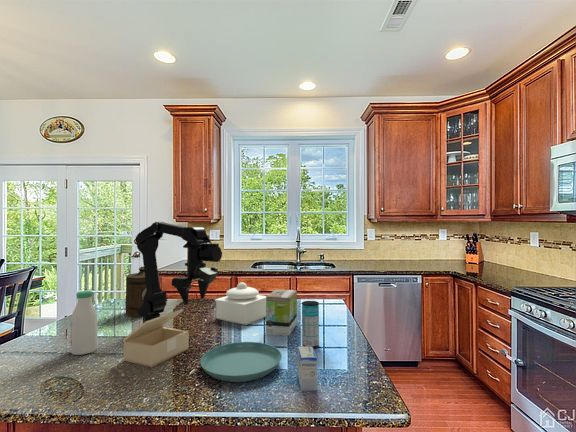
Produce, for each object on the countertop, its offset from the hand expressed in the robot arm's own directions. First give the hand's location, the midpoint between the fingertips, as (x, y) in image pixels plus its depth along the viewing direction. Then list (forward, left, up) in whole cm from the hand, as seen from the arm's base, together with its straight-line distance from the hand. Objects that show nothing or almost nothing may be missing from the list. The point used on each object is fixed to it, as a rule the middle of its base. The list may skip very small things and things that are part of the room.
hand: (194, 301), depth 127 cm
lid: (-1, -18, -4) cm, 18 cm away
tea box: (+26, +22, -14) cm, 37 cm away
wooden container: (-46, +17, -14) cm, 51 cm away
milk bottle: (-25, -26, -14) cm, 39 cm away
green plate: (+30, -14, -14) cm, 36 cm away
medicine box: (+52, -16, -14) cm, 56 cm away
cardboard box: (0, -18, -13) cm, 22 cm away
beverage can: (+43, +10, -14) cm, 46 cm away
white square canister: (+2, +30, -14) cm, 33 cm away
